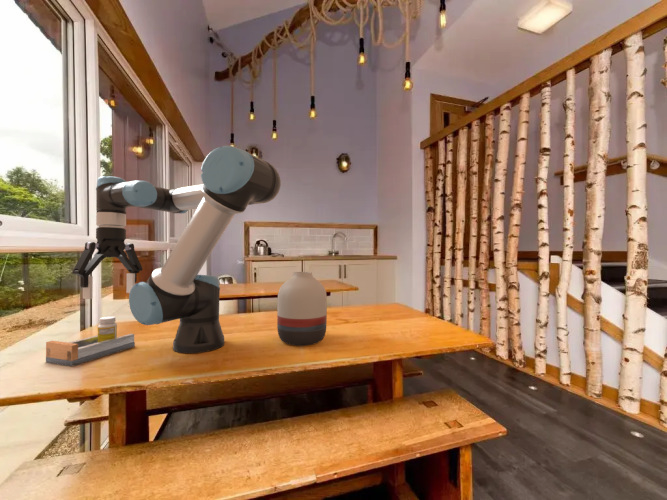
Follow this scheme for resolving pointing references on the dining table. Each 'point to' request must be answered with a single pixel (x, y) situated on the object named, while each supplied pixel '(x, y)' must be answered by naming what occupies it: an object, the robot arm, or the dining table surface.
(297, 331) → the vase
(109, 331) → the supplement bottle
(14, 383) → the dining table surface
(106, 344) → the rail
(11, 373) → the dining table surface
